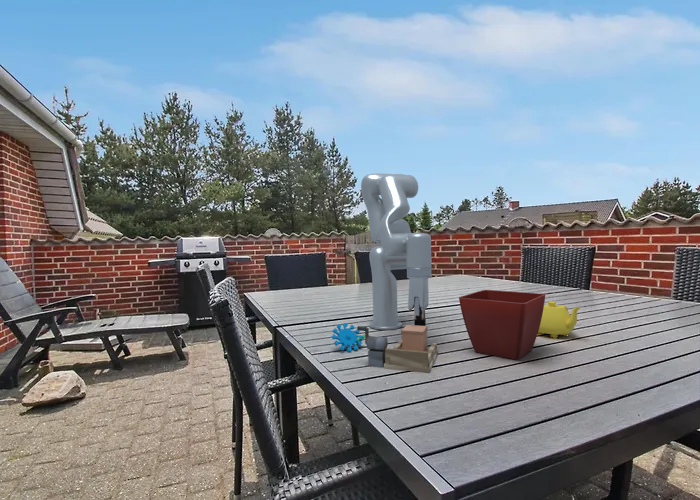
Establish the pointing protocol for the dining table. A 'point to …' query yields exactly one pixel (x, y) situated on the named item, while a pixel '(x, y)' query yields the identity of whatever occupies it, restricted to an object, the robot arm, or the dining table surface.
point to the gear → (347, 337)
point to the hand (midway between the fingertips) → (420, 331)
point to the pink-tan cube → (414, 338)
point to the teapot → (557, 320)
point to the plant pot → (502, 321)
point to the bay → (397, 354)
